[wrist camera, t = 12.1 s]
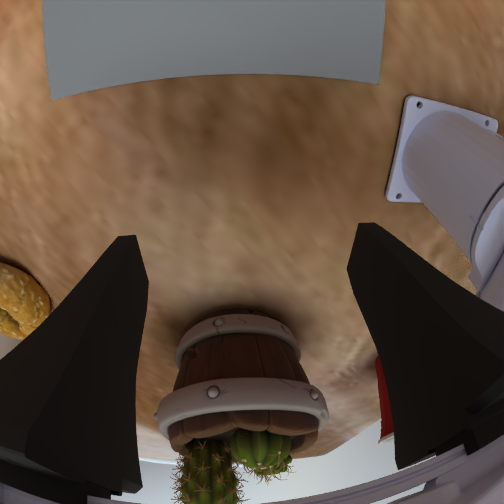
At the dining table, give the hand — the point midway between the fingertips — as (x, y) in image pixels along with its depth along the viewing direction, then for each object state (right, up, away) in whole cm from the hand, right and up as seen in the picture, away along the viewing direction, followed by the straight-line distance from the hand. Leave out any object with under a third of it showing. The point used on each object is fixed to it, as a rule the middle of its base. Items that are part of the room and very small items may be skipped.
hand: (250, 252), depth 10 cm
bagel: (-24, -4, +15) cm, 29 cm away
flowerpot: (-2, -9, +21) cm, 23 cm away
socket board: (-2, +17, 0) cm, 17 cm away
